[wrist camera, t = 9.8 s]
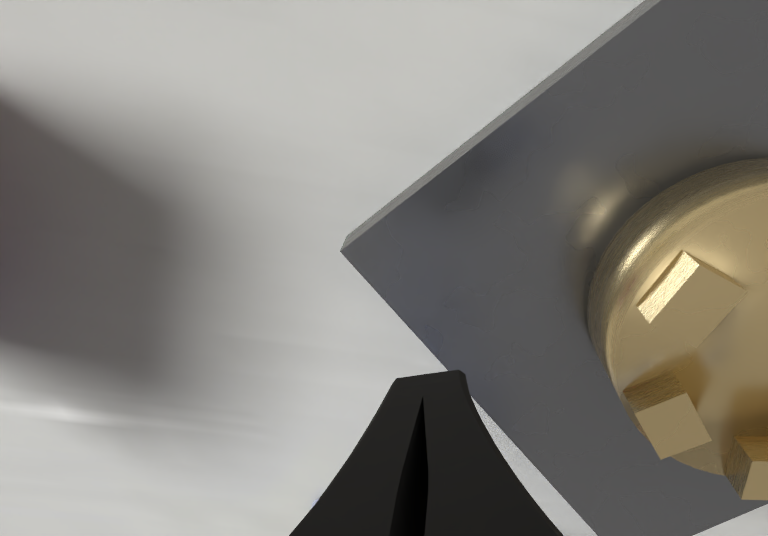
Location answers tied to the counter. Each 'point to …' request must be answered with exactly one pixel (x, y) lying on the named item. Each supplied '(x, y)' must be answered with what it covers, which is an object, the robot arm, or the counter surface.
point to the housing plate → (574, 247)
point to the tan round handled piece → (693, 322)
